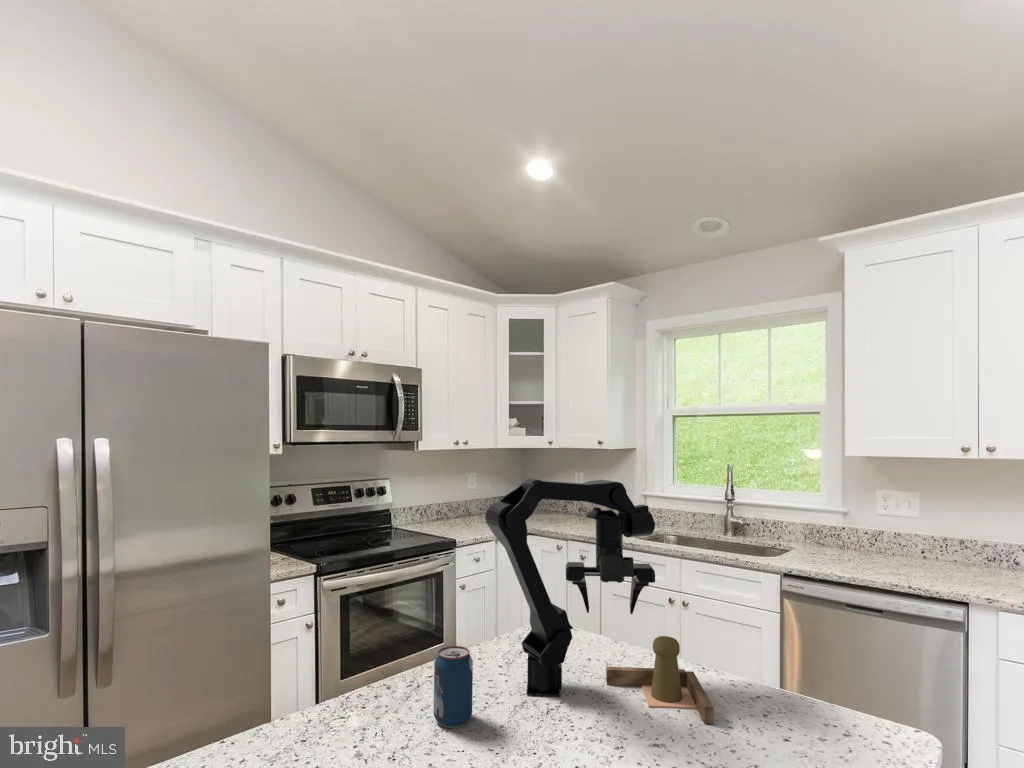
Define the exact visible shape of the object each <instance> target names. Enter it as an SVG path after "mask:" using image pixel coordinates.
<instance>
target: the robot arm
mask: <svg viewBox="0 0 1024 768" xmlns="http://www.w3.org/2000/svg"><path fill="white" fill-rule="evenodd" d="M542 500H551V501H552V500H554V501H555V500H556V501H570V502H571V501H572V502H585V503H589V504H592V505H595V506H594V507H593V508H592V510H591V511H589V512H588V513H587V515H586V517H587V518H588V519H592V520H594V521H595V566H585V563H584V561H581V562H580V561H568V562H566V564H565V580H566V581H568V582H569V581H570V582H571V584H572V585H573V586H575V585H576V586H577V588H578V590H579V591H580V594H581V597H582V600H583V603H584V607H585V611H586V613H587V614H590V603H589V596H588V588H587V582H586V581H587V579H586V577H600V579H599V580H600V582H603V583H609V582H612V583H613V582H615V583H616V582H617V583H619V584H621V583H624V581H625V577H626V578H631V583H630V595H629V596H630V597H629V613H630V615H633V613H634V611H635V608H636V605H637V601H638V600H639V599H638V598H639V596H640V594H641V592H642V591H643V589H644V588H645V587H649V585H650V584H649V583H654V584H655V583H656V572H655V569H654V568H653V566H652V565H651V564H650V563H639V562H638V563H636V562H635V563H634V558H633V556H632V557H631V556H623V555H624V554H623V553H624V552H623V550H624V549H623V548H624V547H623V546H624V545H623V542H624V541H623V539H624V538H623V536H624V537H625V538H635V537H637V538H638V537H646V536H647V537H648V536H652V535H653V533H654V532H655V527H656V523H655V519H654V517H653V514H652V512H650V511H649V505H647V504H638V505H634V503H633V501H632V499H631V498H630V497H629V495H628V494H627V489H626V487H625V486H624V484H623V483H622V482H619V481H613V480H607V479H596V480H589V481H587V482H565V481H564V482H563V481H552V480H541V479H537V478H536V479H535V478H527V479H525V480H524V481H523V482H522V483H521V484H520V485H519V486H517V487H516V488H515V489H513V490H512V491H510V492H508V493H507V494H505V495H504V496H502V498H501V499H500V500H498V501H496V502H493V503H492V504H491V505H489V507H488V508H487V511H486V513H485V515H484V518H485V522H486V524H487V526H488V527H489V529H490V531H491V532H492V533H493V536H494V537H495V538H496V539H497V540H498V542H500V544H501V545H502V546H503V548H504V549H505V551H506V555H507V557H508V559H509V561H510V563H511V566H512V569H513V570H514V574H515V576H516V578H517V579H516V580H518V584H519V586H520V587H521V590H522V593H523V596H524V597H525V601H526V602H527V604H528V605H527V606H528V608H529V611H530V612H529V624H530V625H529V626H530V629H531V630H530V632H529V633H528V634H527V635H526V636H525V637H524V639H523V640H522V641H521V647H522V649H523V653H525V654H527V682H526V683H527V686H526V695H527V696H544V697H545V696H548V697H559V696H560V694H561V693H560V690H562V689H563V666H562V665H563V663H564V662H565V659H566V655H567V652H568V649H569V646H570V645H571V641H572V640H573V633H572V630H573V629H574V627H573V626H572V624H571V623H570V621H569V617H568V614H567V611H566V610H565V609H563V608H561V607H559V606H558V605H556V604H554V603H552V600H551V598H550V597H549V593H548V592H547V589H546V586H545V583H544V582H543V581H544V580H543V579H542V577H541V574H540V571H539V569H538V567H537V564H536V561H535V559H534V556H533V554H532V552H531V549H530V547H529V544H528V525H527V520H528V519H529V518H530V517H531V516H532V515H533V513H534V512H535V510H536V508H537V507H538V504H539V503H540V502H541V501H542ZM597 506H600V507H604V508H607V509H606V510H604V509H603V510H602V509H601V508H600V507H597ZM615 511H618V513H616V512H615Z"/></svg>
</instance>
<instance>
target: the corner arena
mask: <svg viewBox="0 0 1024 768" xmlns="http://www.w3.org/2000/svg"><path fill="white" fill-rule="evenodd" d="M605 670H606V672H605V673H606V674H605V676H606V677H605V679H606V680H605V681H606V682H607V683H606V686H624V685H628V686H630V687H631V686H632V687H634V686H635V687H641V689H642V691H643V695H644V697H645V700H646V703H647V706H648V708H660V709H662V708H665V709H688V710H689V709H690V710H697V713H698V714H699V715H700V718H701V720H702V722H703V723H704V725H715V717H714V716H715V715H714V711H715V709H714V708H715V707H714V705H713V703H712V702H711V700H710V698H709V697H708V695H707V693H706V691H705V689H704V688H703V686H702V684H701V683H700V681H699V679H698V677H697V675H696V673H695V672H694V671H690V670H689V671H688V670H687V671H686V669H684V668H682V669H681V668H680V669H679V675H680V683H681V690H682V698H683V699H682V700H681V701H679V702H675V703H667V702H662V701H658V700H656V699H654V698H653V697H652V696H651V690H652V681H653V673H654V667H625V666H624V667H623V666H620V667H619V666H605Z"/></svg>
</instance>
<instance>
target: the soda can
mask: <svg viewBox="0 0 1024 768" xmlns="http://www.w3.org/2000/svg"><path fill="white" fill-rule="evenodd" d="M473 662H474V660H473V657H472V656H471V654H470V650H469V649H468V648H467V647H466V646H465V647H464V646H461V645H459V646H458V645H450V646H444V647H442V648H440V649H439V650H438V651H437V656H436V658H435V660H434V665H433V666H434V670H433V671H434V672H433V717H434V718H435V720H436V722H437V724H438V725H439V726H441V727H443V728H447V729H455V728H456V729H457V728H461V727H463V726H465V725H466V724H468V722H469V720H470V719H471V717H472V715H473V679H474V678H473V673H474V672H473V669H474V668H473V667H474V664H473Z"/></svg>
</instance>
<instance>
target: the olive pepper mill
mask: <svg viewBox="0 0 1024 768" xmlns="http://www.w3.org/2000/svg"><path fill="white" fill-rule="evenodd" d="M652 651H653V654H655V655H654V656H655V659H654V664H653V665H654V666H653V668H654V673H653V681H652V690H651V696H652V697H653V698H654V699H656V700H658V701H662V702H667V703H675V702H679V701H681V700H682V699H683V698H682V690H681V683H680V675H679V662H678V656H679V655H680V653H681V652H680V651H681V647H680V643H679V641H678V640H677V639H676V638H674V637H671V636H667V635H660V636H657V637H655V638H654V640H653V641H652Z"/></svg>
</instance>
